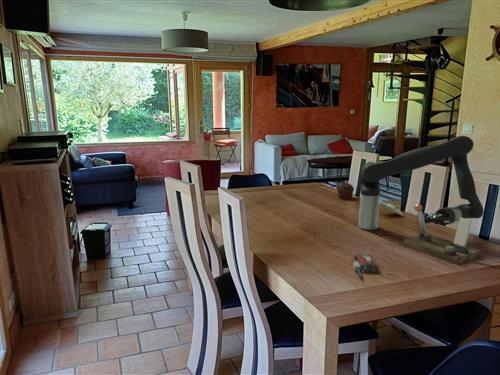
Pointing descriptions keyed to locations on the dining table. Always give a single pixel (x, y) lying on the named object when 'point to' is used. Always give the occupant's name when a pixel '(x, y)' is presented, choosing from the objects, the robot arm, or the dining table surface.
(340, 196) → the muffin
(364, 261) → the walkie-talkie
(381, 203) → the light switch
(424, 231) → the steel toggle lever
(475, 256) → the walnut switch panel
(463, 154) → the robot arm
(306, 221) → the dining table surface
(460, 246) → the panel
